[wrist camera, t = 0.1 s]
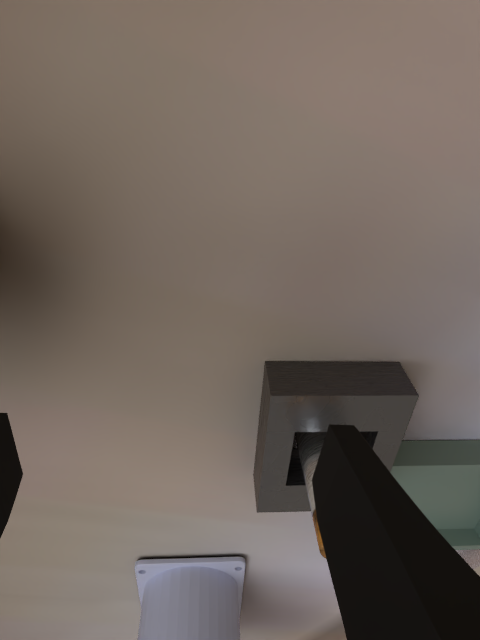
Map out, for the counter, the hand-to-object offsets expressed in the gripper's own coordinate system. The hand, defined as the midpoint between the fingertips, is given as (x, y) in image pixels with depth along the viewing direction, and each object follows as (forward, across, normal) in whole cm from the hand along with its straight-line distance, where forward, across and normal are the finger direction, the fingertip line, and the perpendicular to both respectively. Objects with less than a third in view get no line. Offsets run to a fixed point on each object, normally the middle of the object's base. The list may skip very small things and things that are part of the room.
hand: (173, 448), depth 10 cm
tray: (+10, -17, +15) cm, 25 cm away
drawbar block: (+10, -8, +10) cm, 16 cm away
